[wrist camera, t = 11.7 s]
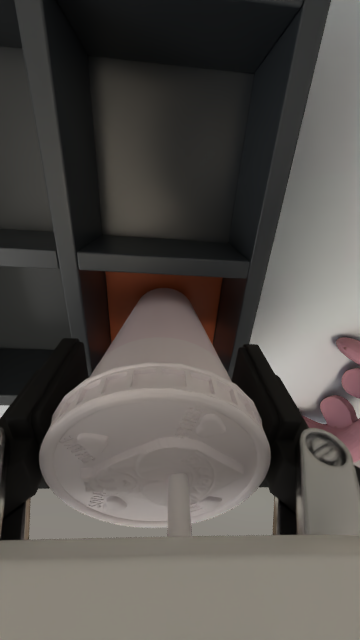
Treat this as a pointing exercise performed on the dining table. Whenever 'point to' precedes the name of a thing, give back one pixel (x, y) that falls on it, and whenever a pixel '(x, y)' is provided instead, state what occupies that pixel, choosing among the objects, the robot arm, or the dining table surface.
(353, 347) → the video game controller
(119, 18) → the crate
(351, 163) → the dining table surface
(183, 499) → the smoothie
